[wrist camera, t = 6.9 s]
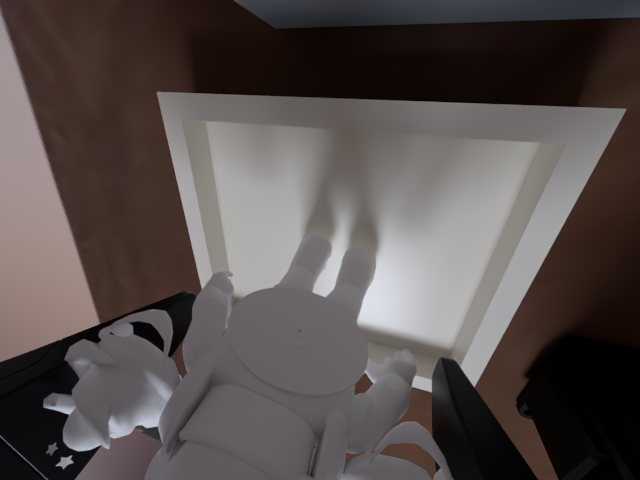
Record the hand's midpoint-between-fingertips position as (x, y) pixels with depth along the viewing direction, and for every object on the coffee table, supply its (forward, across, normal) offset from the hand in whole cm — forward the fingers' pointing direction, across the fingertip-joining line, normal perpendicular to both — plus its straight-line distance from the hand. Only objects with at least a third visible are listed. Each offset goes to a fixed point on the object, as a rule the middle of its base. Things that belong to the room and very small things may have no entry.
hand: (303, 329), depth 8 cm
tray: (+6, 0, 0) cm, 6 cm away
